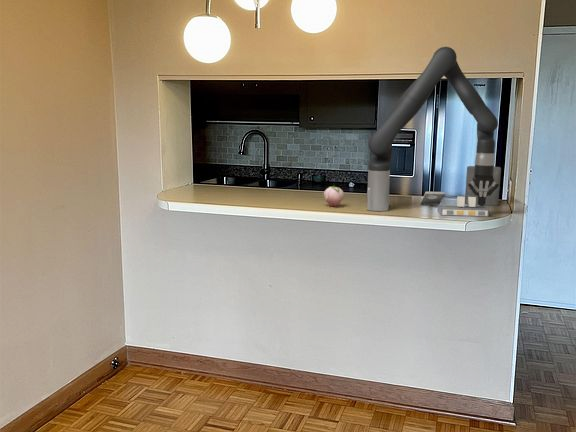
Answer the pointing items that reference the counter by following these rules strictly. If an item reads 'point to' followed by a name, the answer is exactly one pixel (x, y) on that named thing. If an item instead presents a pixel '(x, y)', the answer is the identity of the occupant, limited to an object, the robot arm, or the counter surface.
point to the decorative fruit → (333, 195)
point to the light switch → (432, 198)
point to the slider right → (471, 201)
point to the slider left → (460, 201)
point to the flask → (491, 199)
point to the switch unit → (463, 211)
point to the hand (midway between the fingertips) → (481, 205)
